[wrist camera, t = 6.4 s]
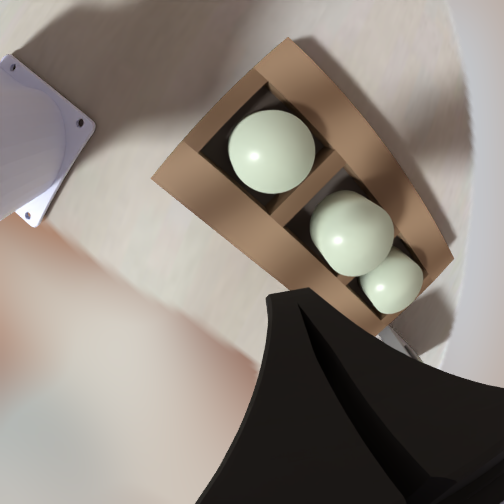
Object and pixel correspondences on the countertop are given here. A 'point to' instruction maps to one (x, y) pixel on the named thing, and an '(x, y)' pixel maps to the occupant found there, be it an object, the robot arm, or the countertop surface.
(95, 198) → the countertop surface
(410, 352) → the card
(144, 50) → the countertop surface
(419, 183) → the countertop surface
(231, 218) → the wooden compartment tray
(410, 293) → the button
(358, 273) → the button mid
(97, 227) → the countertop surface
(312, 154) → the button
